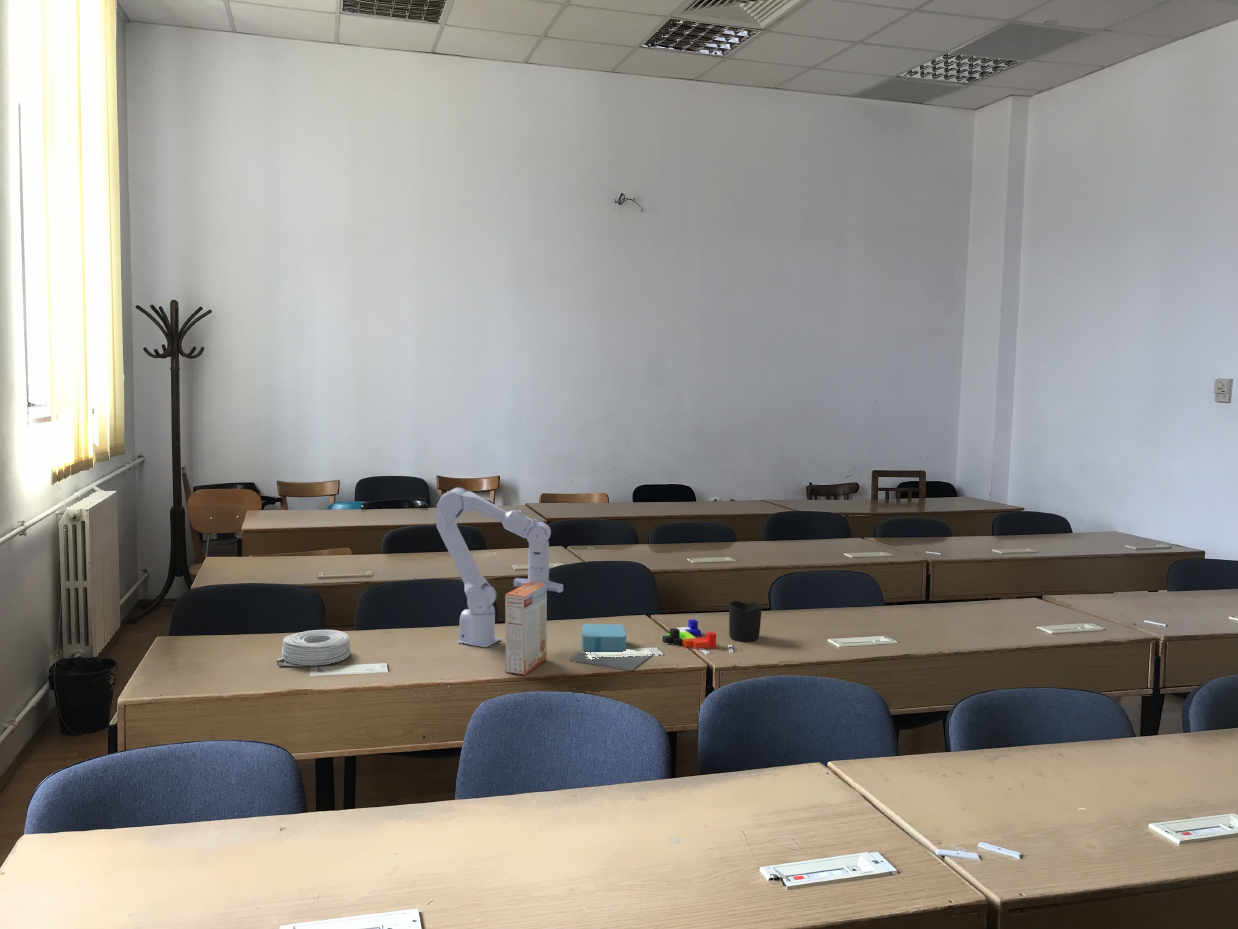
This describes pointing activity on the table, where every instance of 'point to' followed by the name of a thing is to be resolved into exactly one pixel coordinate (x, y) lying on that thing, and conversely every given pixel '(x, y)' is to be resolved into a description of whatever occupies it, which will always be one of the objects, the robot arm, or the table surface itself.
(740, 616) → the pen holder
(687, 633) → the building blocks
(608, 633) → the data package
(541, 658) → the cracker box
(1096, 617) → the table surface
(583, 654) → the mat
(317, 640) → the cable
